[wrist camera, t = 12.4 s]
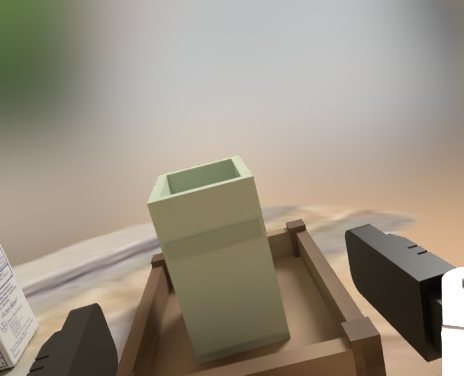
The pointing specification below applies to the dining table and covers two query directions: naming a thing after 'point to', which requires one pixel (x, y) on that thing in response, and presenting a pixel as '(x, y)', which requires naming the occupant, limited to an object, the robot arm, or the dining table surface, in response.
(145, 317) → the walnut crate
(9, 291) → the medicine box
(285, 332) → the small square vase
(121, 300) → the dining table surface
